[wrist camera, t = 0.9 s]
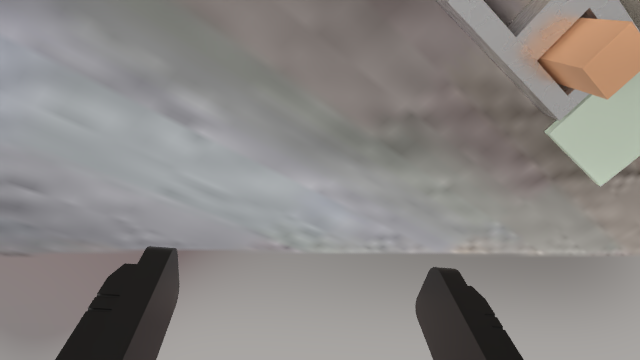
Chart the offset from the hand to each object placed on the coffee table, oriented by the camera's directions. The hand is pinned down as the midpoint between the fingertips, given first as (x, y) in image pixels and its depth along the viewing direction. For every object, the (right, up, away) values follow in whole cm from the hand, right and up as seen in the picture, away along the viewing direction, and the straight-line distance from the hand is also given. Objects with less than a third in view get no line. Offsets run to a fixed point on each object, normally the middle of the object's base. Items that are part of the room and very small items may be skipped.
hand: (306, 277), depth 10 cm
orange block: (+25, +16, +23) cm, 37 cm away
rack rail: (+21, +18, +21) cm, 35 cm away
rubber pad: (+34, +10, +27) cm, 45 cm away
